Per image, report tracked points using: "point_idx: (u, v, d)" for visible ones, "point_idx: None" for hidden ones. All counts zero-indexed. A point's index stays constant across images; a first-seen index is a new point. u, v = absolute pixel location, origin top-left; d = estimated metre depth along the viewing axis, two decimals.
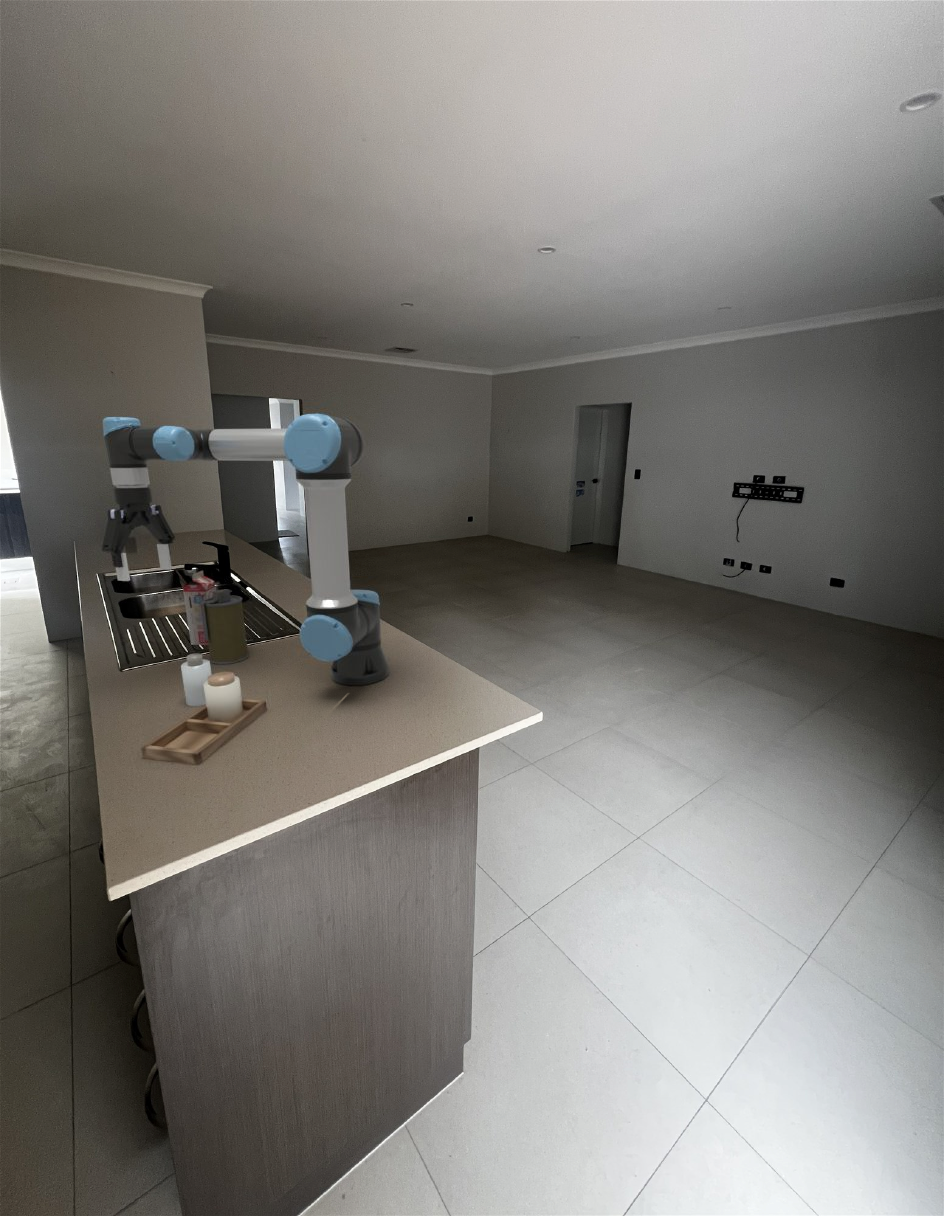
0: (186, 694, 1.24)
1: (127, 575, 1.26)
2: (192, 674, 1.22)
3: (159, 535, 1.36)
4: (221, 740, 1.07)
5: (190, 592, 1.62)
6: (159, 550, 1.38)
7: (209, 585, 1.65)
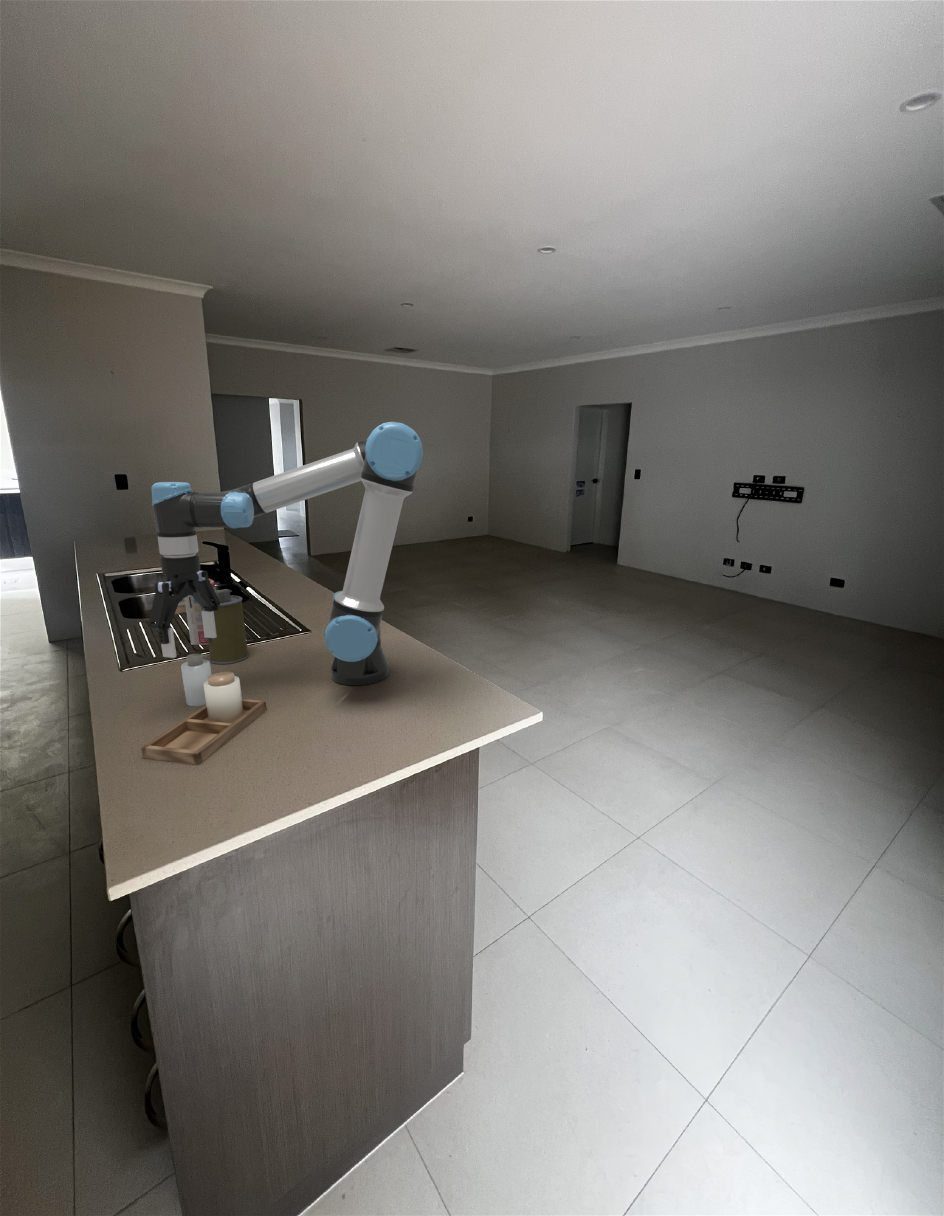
0: (186, 694, 1.24)
1: (173, 651, 1.16)
2: (192, 674, 1.22)
3: (205, 602, 1.26)
4: (221, 740, 1.07)
5: None
6: (204, 617, 1.28)
7: None
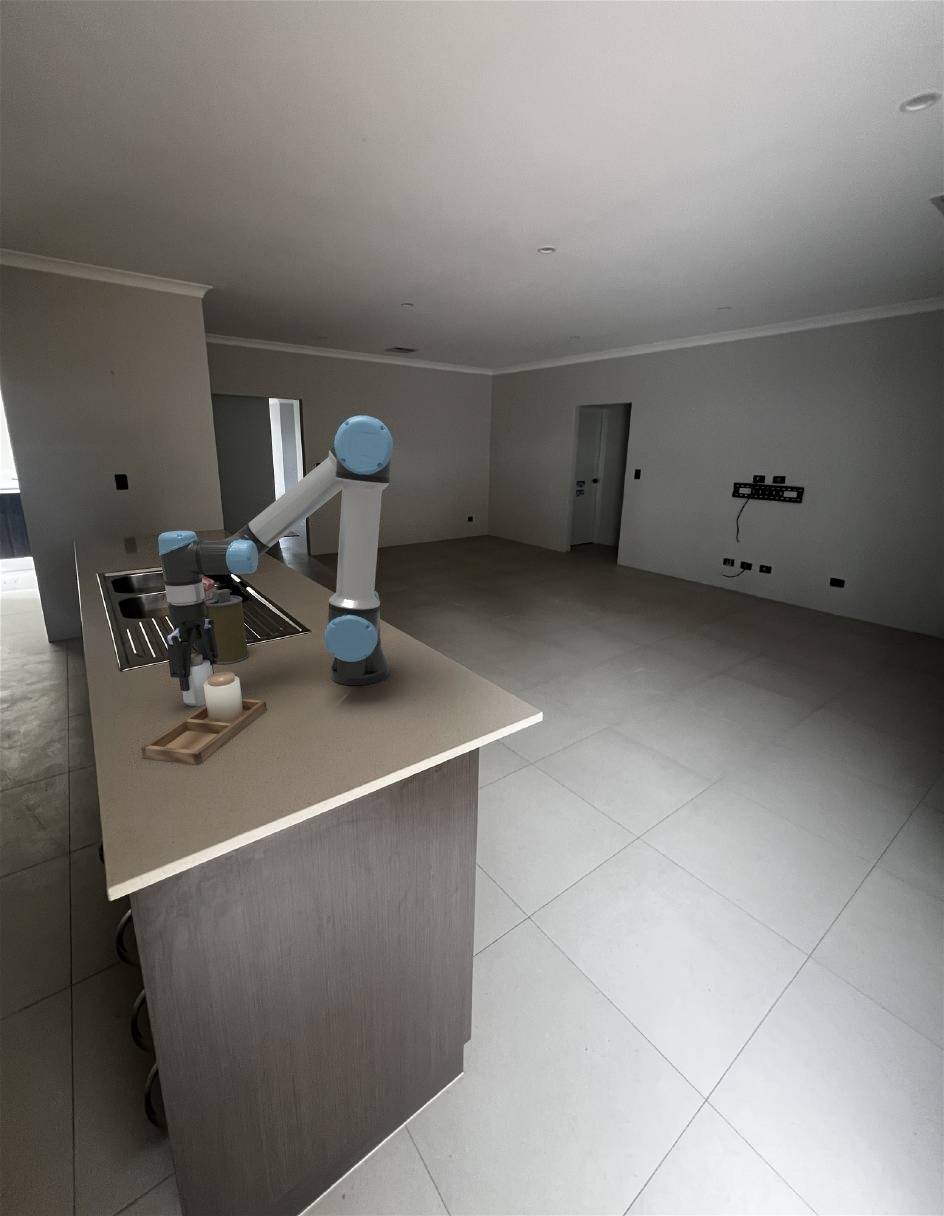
0: None
1: (194, 698, 1.23)
2: (192, 674, 1.22)
3: (205, 653, 1.26)
4: (221, 740, 1.07)
5: None
6: None
7: (209, 585, 1.65)
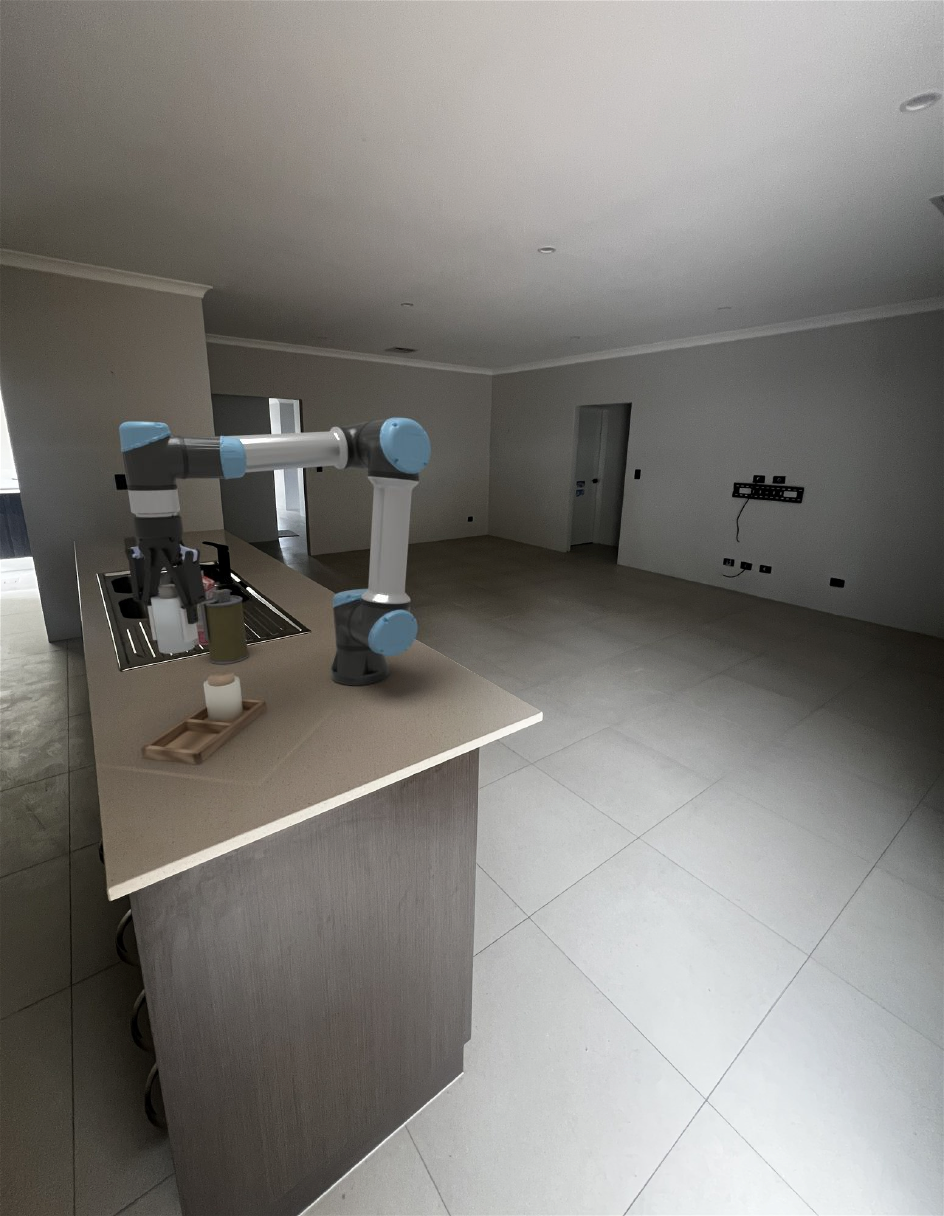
0: None
1: (153, 633, 1.00)
2: None
3: None
4: (221, 740, 1.07)
5: None
6: None
7: (209, 585, 1.65)
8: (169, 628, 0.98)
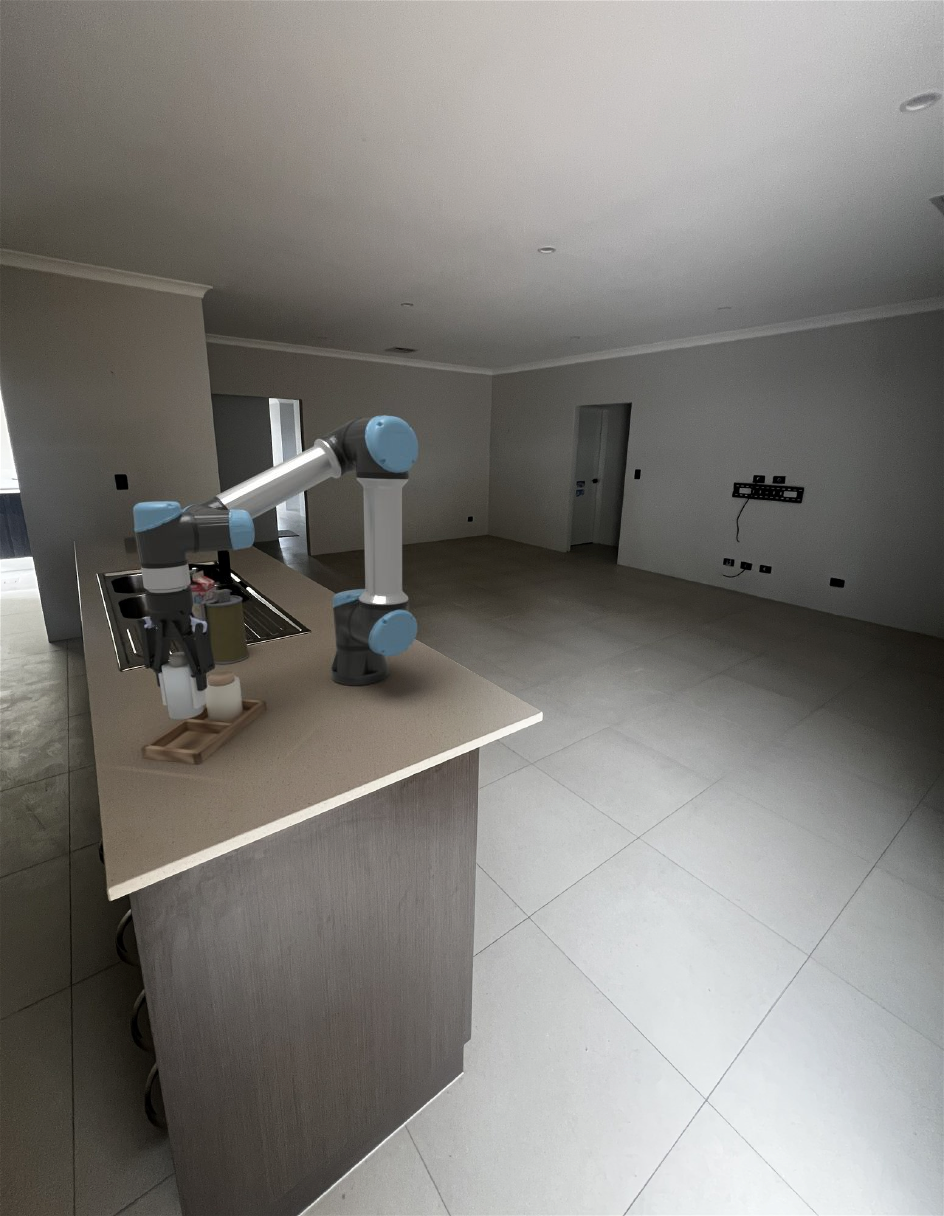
0: None
1: (163, 698, 1.04)
2: None
3: None
4: (221, 740, 1.07)
5: None
6: None
7: (209, 585, 1.65)
8: (179, 696, 1.01)
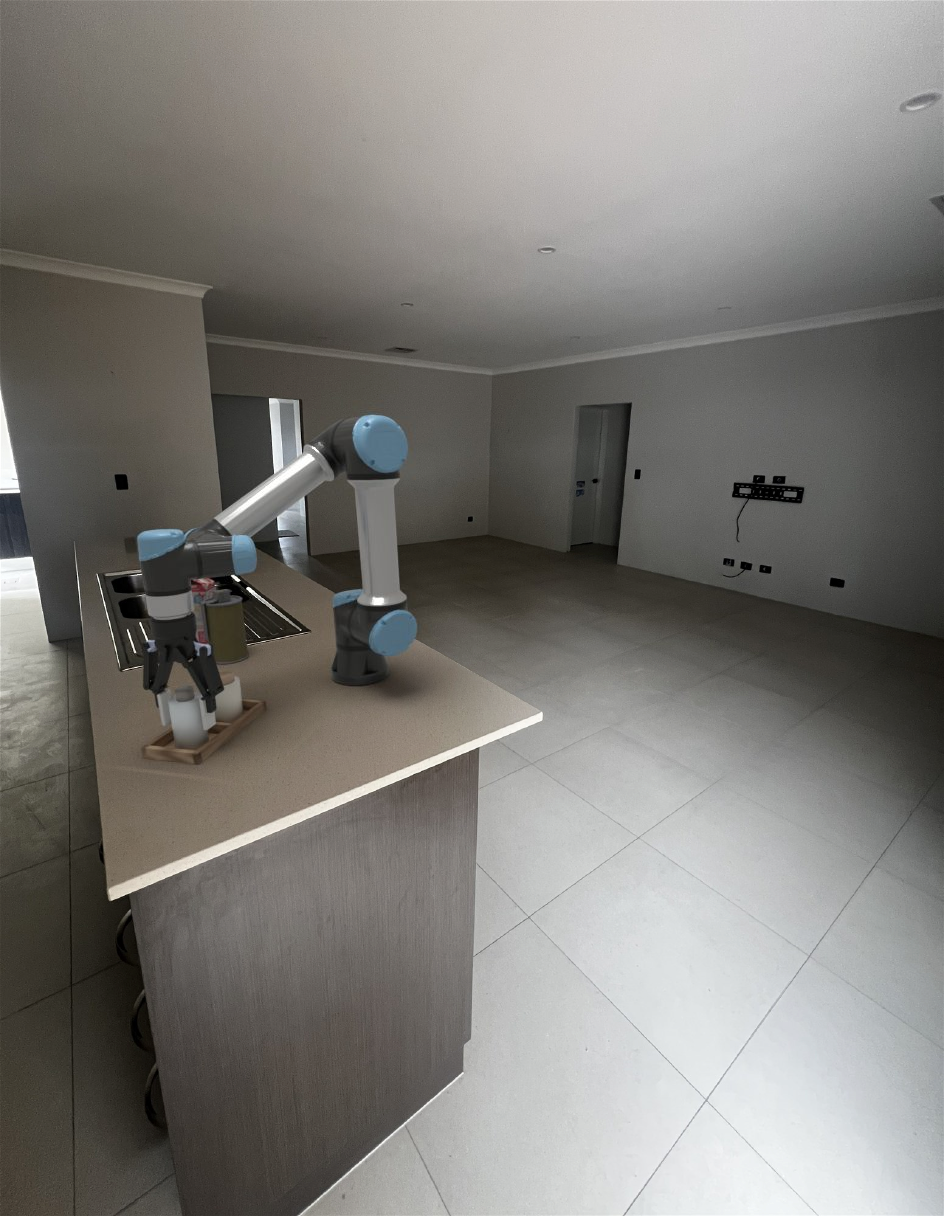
0: None
1: (162, 719, 1.05)
2: None
3: None
4: (221, 740, 1.07)
5: None
6: None
7: (209, 585, 1.65)
8: (185, 730, 1.03)
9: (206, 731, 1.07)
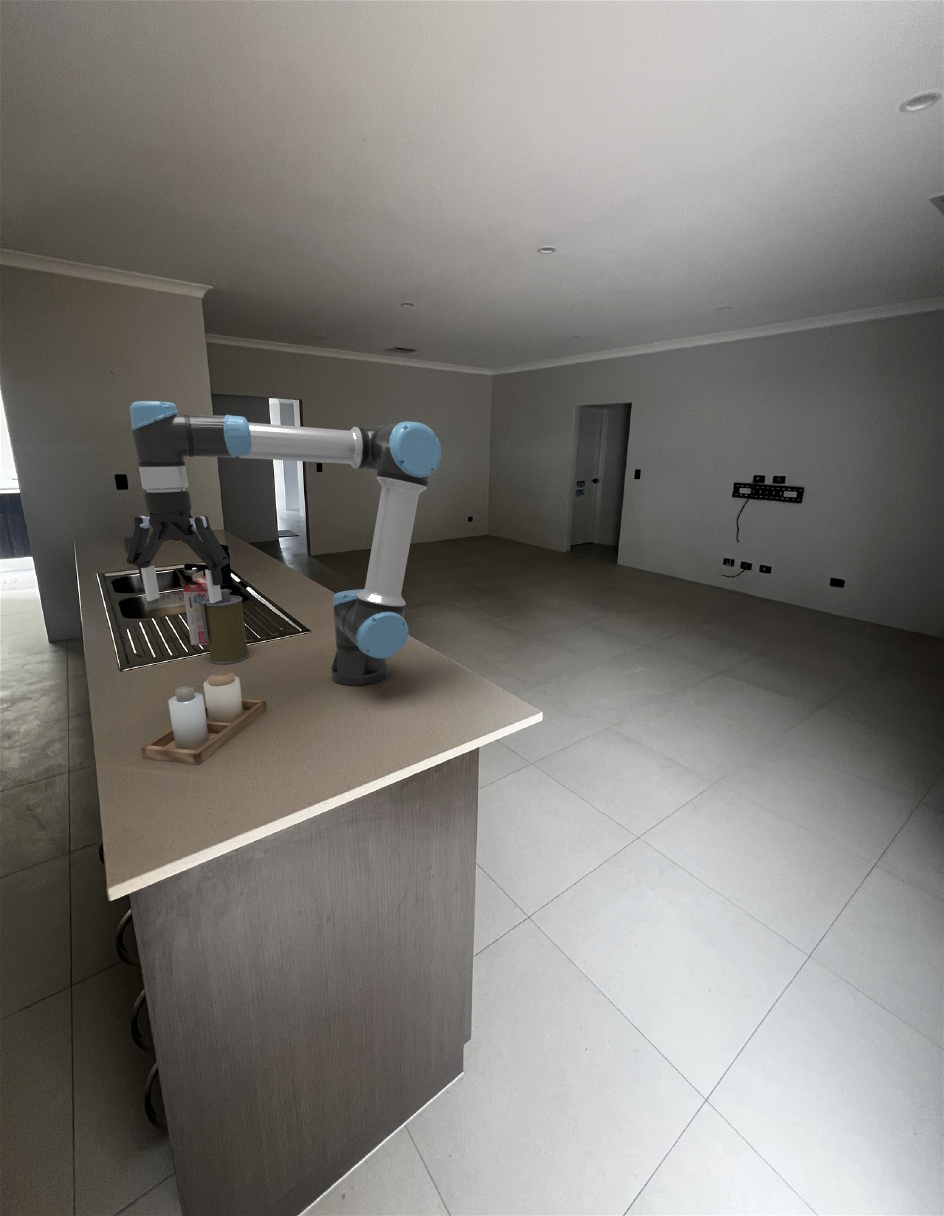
0: None
1: (146, 594, 1.06)
2: None
3: None
4: (221, 740, 1.07)
5: (190, 592, 1.62)
6: None
7: None
8: (186, 730, 1.03)
9: (206, 731, 1.07)
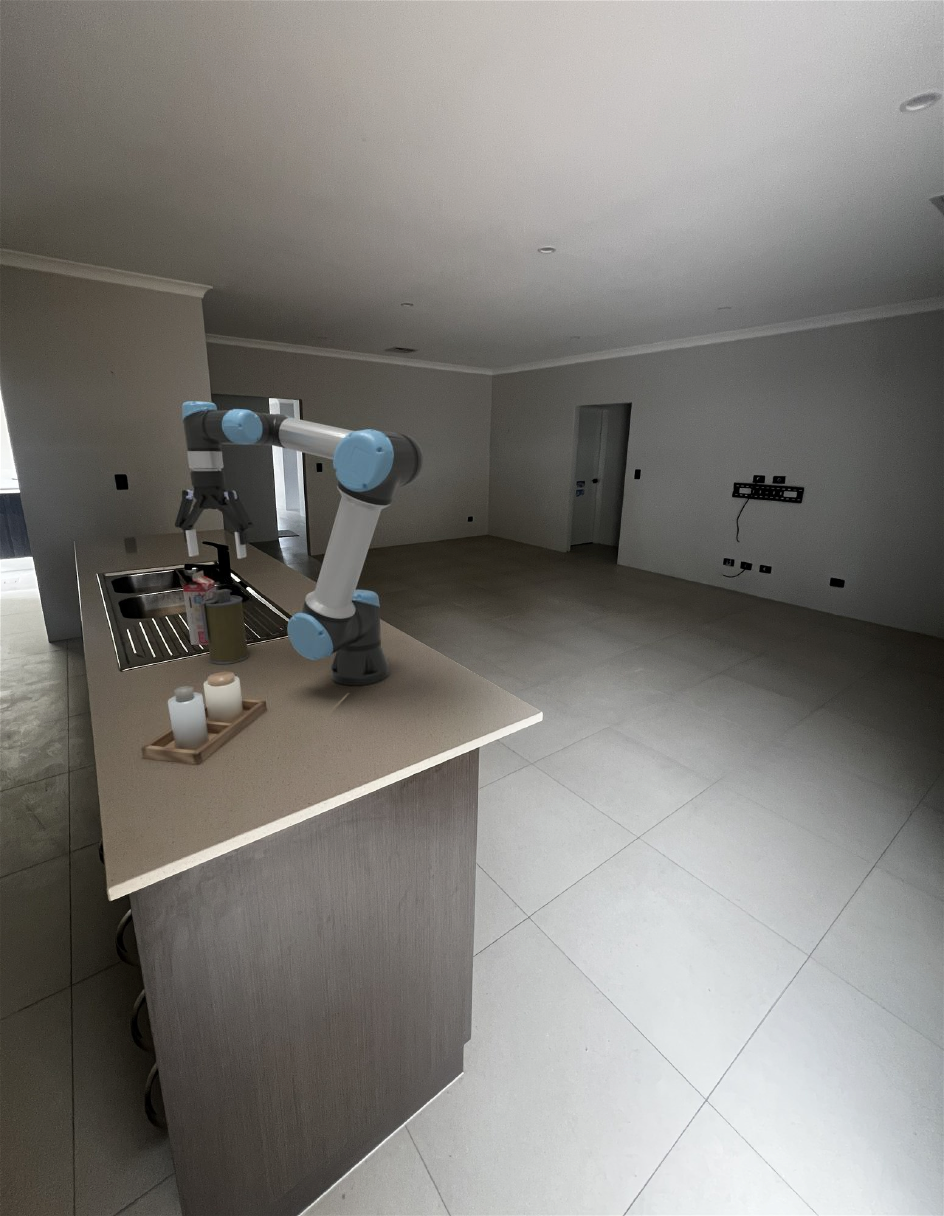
0: None
1: (189, 551, 1.36)
2: None
3: None
4: (221, 740, 1.07)
5: (190, 592, 1.62)
6: None
7: (209, 585, 1.65)
8: (185, 730, 1.03)
9: (206, 731, 1.07)
